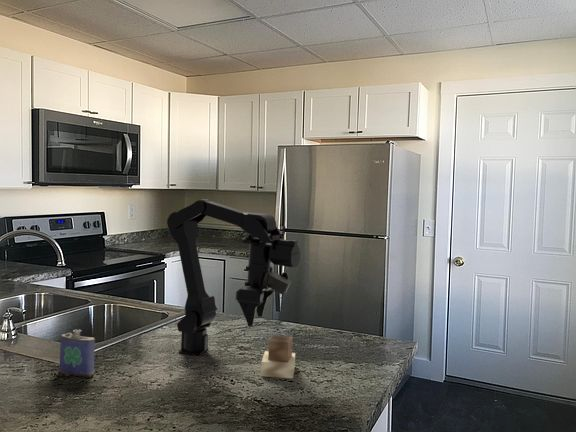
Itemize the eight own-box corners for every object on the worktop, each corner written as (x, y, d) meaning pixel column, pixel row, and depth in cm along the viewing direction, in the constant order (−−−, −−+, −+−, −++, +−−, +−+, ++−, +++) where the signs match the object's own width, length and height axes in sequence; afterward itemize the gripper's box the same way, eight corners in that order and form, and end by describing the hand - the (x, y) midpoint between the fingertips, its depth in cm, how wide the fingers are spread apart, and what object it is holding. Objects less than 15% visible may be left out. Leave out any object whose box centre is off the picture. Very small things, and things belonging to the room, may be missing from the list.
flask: (96, 374, 117) (97, 330, 117) (88, 378, 115) (89, 333, 114) (64, 368, 120) (64, 325, 119) (55, 372, 117) (56, 328, 116)
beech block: (260, 377, 121) (261, 361, 121) (264, 365, 129) (265, 351, 129) (292, 379, 121) (293, 363, 120) (294, 367, 129) (295, 353, 128)
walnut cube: (268, 360, 122) (269, 340, 122) (273, 353, 127) (274, 334, 127) (287, 362, 121) (288, 342, 121) (291, 355, 126) (292, 336, 126)
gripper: (281, 271, 116) (277, 335, 117) (296, 260, 134) (292, 316, 136) (237, 266, 119) (232, 329, 120) (257, 256, 137) (253, 311, 138)
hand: (255, 321), depth 128 cm, fingers open, 9 cm apart
